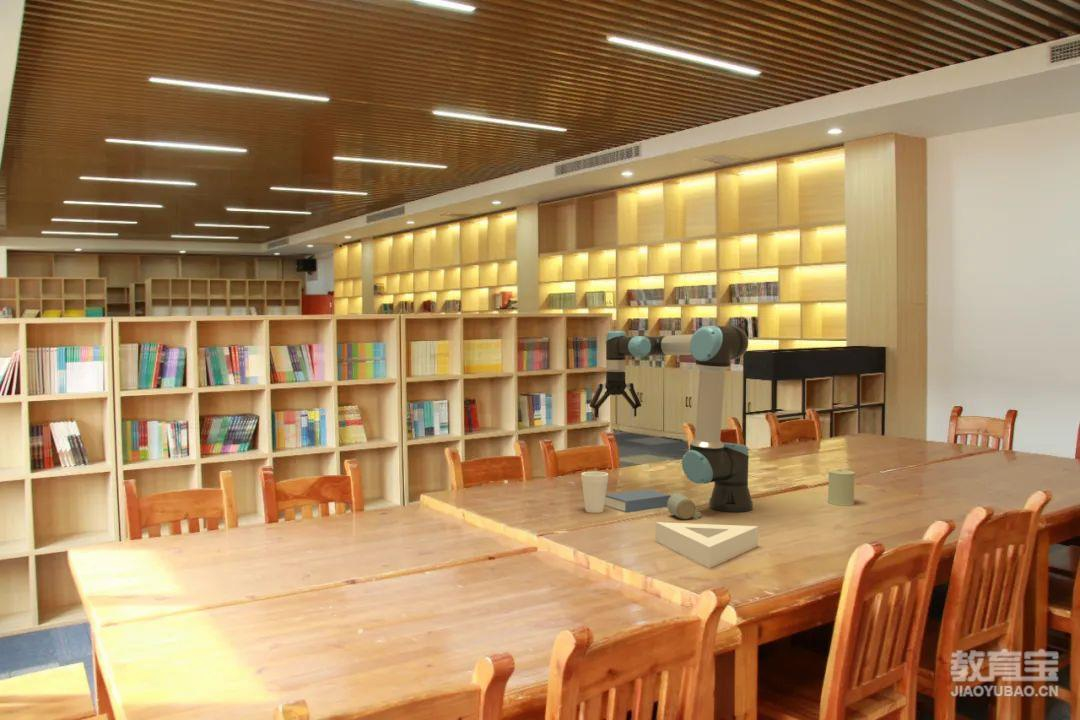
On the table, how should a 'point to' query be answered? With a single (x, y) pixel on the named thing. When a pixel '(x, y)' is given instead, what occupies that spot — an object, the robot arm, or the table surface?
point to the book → (636, 500)
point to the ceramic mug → (682, 506)
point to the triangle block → (707, 540)
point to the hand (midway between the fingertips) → (615, 425)
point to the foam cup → (594, 490)
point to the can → (841, 487)
